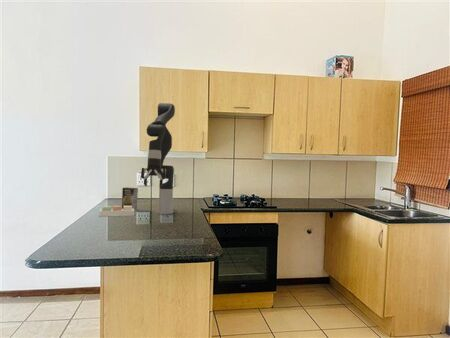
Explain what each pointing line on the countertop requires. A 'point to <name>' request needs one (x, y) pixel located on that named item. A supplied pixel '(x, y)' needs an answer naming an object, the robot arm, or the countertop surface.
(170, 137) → the robot arm
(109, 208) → the sage key
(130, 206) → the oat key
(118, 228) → the countertop surface
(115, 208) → the terracotta key
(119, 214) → the cream flat tray
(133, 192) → the coffee box
